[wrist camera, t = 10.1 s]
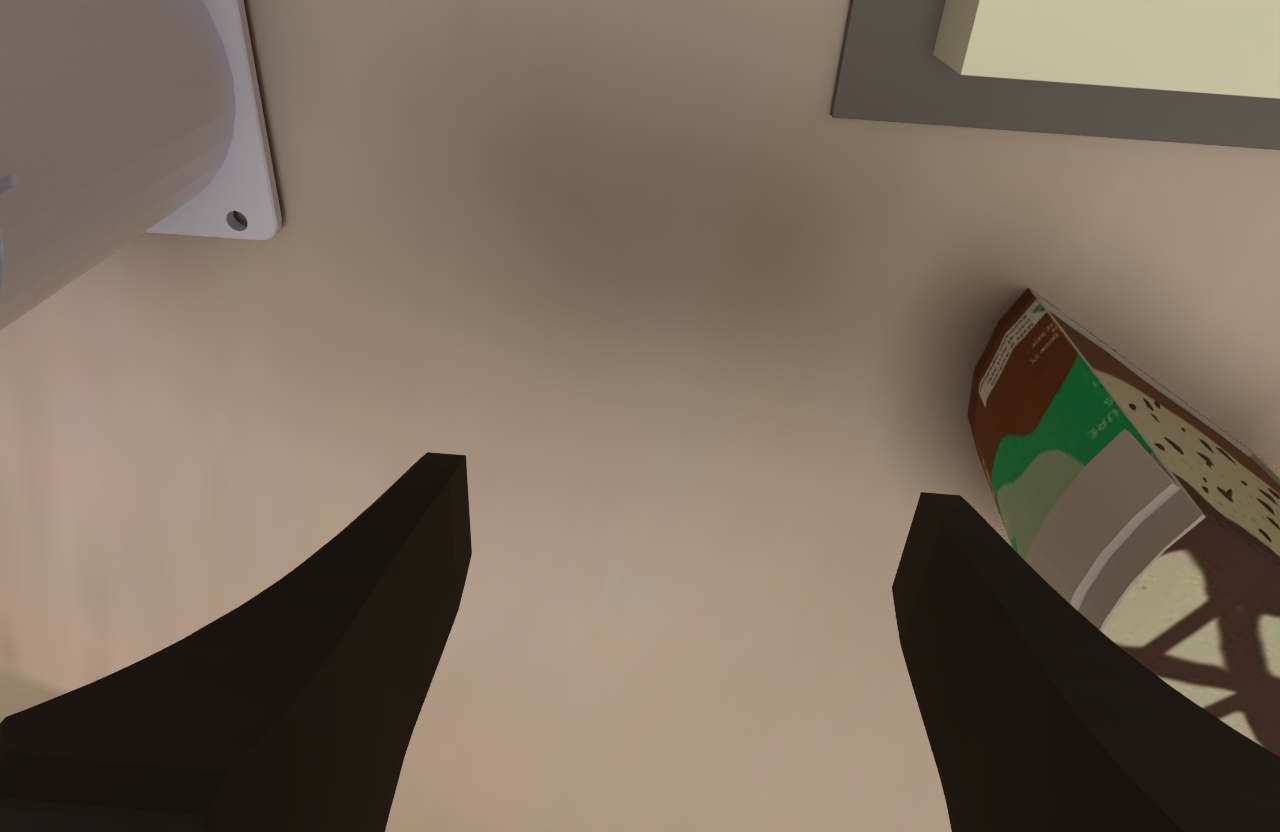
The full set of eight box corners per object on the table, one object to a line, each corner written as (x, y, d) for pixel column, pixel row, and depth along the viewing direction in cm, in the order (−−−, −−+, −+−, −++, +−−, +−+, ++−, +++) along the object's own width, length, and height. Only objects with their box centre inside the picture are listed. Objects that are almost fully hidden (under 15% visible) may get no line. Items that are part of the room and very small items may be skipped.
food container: (831, 420, 25) (910, 704, 16) (987, 257, 22) (1181, 500, 13) (1117, 597, 28) (1304, 907, 20) (1285, 475, 25) (1589, 779, 17)
